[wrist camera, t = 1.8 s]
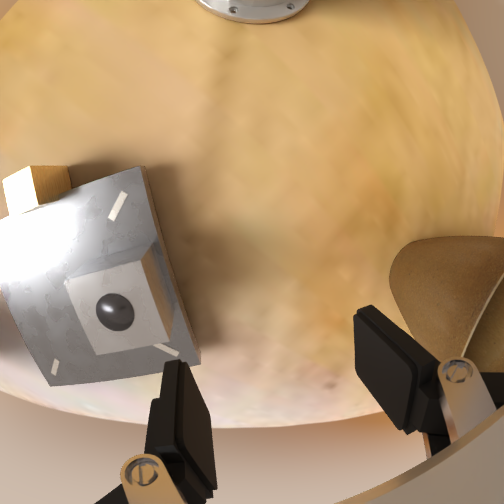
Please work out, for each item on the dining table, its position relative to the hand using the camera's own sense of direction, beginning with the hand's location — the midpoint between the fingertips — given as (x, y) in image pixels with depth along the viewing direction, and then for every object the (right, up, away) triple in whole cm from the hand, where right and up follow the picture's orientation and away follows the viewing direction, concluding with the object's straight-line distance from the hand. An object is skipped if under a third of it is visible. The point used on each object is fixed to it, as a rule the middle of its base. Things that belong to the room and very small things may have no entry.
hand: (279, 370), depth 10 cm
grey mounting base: (-17, +2, +15) cm, 23 cm away
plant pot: (+18, +2, +21) cm, 28 cm away
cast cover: (-11, +1, +13) cm, 17 cm away
